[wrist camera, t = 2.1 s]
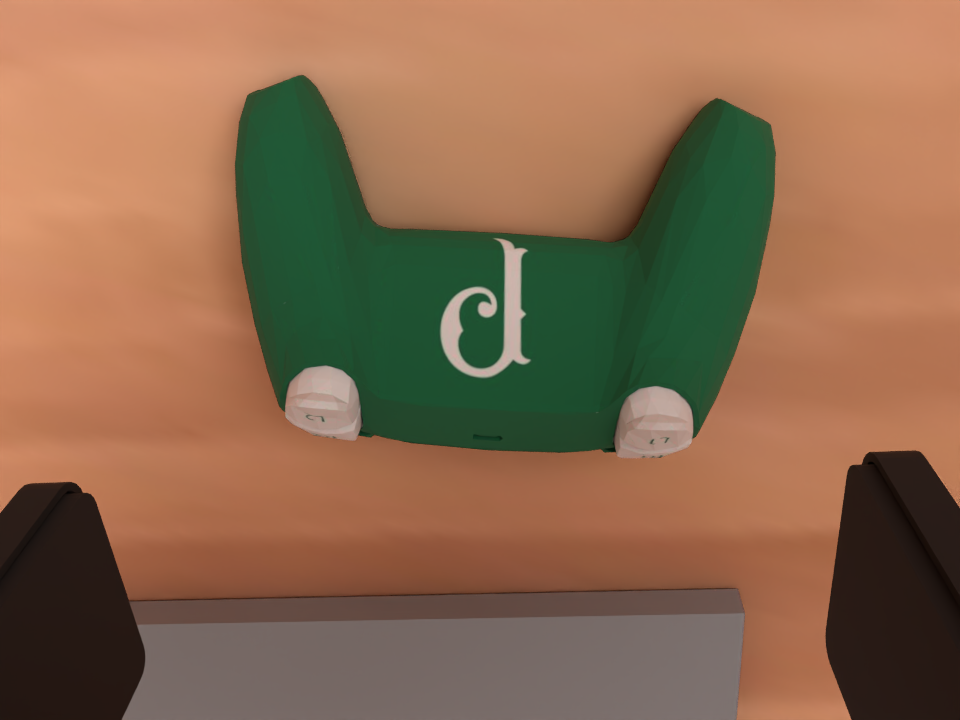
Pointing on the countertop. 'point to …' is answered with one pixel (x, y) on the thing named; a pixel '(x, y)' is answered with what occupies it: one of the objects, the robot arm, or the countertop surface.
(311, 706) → the slate mat
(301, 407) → the gaming controller
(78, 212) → the countertop surface
